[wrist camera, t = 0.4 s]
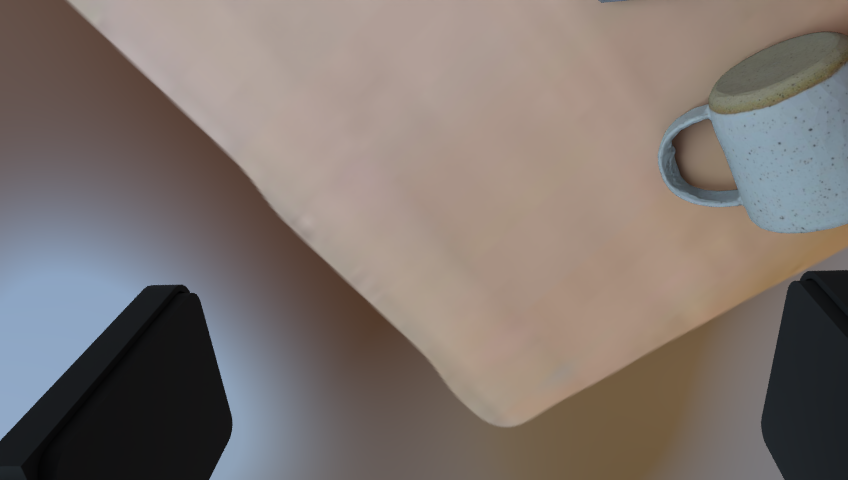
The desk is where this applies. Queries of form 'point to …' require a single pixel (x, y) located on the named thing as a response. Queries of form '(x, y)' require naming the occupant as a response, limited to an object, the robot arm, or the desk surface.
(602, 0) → the keypad
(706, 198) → the ceramic mug
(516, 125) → the desk surface
